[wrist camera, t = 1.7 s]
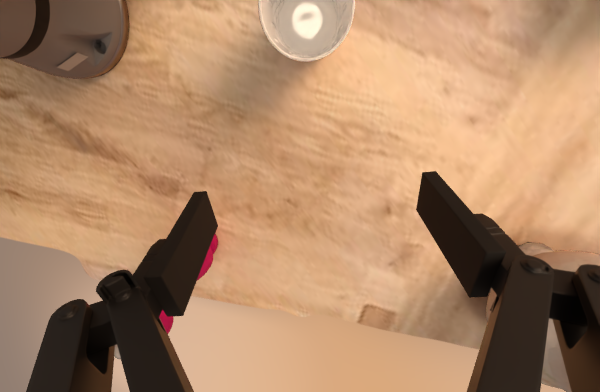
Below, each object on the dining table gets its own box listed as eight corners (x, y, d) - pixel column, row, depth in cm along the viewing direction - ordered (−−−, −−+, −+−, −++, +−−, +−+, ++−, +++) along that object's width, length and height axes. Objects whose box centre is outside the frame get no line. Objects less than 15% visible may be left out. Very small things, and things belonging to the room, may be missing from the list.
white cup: (356, 9, 31) (374, -18, 22) (320, 77, 34) (323, 78, 24) (293, -32, 29) (285, -79, 20) (262, 43, 32) (242, 30, 23)
